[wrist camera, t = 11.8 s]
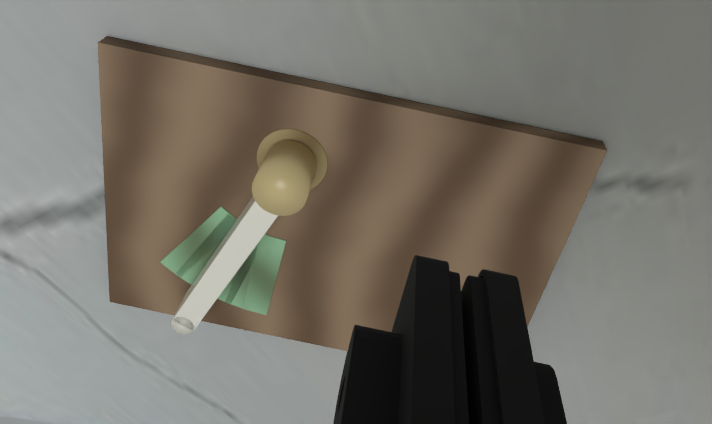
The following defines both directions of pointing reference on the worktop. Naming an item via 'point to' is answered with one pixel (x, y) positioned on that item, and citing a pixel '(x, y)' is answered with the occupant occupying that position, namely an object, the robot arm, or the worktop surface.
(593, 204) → the worktop surface
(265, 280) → the dial board
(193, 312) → the pointer
